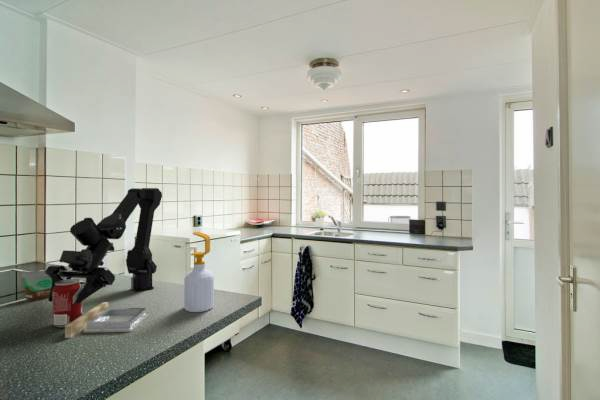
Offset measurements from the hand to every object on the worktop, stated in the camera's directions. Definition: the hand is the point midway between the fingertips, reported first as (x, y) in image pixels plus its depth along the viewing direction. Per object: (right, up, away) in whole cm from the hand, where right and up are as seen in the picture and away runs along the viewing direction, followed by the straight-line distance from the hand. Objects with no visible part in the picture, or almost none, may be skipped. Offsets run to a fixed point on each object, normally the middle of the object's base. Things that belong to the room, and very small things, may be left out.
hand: (63, 302), depth 89 cm
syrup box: (-19, -6, +45) cm, 50 cm away
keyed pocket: (+14, -7, +2) cm, 16 cm away
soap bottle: (+33, -7, +15) cm, 37 cm away
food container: (-24, -6, +24) cm, 34 cm away
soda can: (0, -7, +1) cm, 7 cm away
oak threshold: (+6, -7, +2) cm, 9 cm away
